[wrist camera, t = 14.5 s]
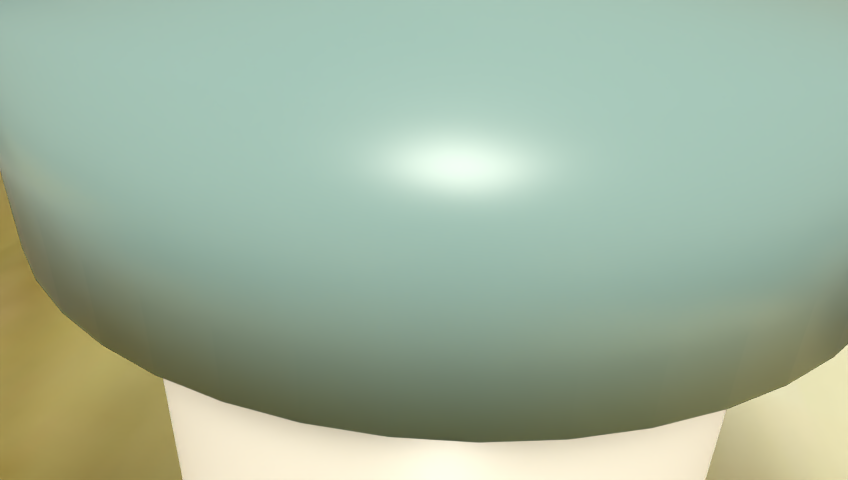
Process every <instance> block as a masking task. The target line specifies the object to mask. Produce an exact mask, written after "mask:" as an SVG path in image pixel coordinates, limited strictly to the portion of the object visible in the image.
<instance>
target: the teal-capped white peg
mask: <svg viewBox="0 0 848 480" xmlns="http://www.w3.org/2000/svg"><path fill="white" fill-rule="evenodd" d="M0 172H1V175H2V179H3V182H4V186H5V189H6V193H7V196H8V200H9V203H10V207H11V210H12V214H13V217H14V221H15V224H16V228H17V232H18V235H19V239H20V242H21V246H22V249H23V251H24V254H25V256H26V258H27V260H28V263H29V265H30V267H31V270H32V272H33V274H34V276H35V279H36V281H37V282H38V283H39V284H40V286H41V287H42V288H43V289H44V291H45V292H46V293H47V294H48V296H49V297H50V298H51V299H52V301H53V302H54V303H55V304H56V306H57V307H58V308H59V309H60V311H61V312H62V313H63V314H64V315H66V316H67V317H68V318H69V319H71V320H72V321H73V322H74V323H75V324H77V325H78V326H79V327H80V328H82V329H83V330H84V331H85V332H87V333H88V334H89V335H90V336H91V337H93V338H94V339H95V340H96V341H98V342H99V343H100V344H101V345H103V346H105V347H106V348H108V349H110V350H112V351H113V352H115V353H117V354H119V355H121V356H122V357H124V358H126V359H128V360H129V361H131V362H133V363H135V364H136V365H138V366H140V367H142V368H143V369H145V370H147V371H149V372H150V373H152V374H154V375H156V376H159V377H161V378H163V381H164V386H165V391H166V396H167V401H168V406H169V412H170V417H171V422H172V427H173V432H174V437H175V443H176V448H177V453H178V458H179V463H180V468H181V474H182V479H183V480H705V479H706V476H707V473H708V469H709V466H710V463H711V459H712V456H713V453H714V449H715V446H716V443H717V439H718V436H719V433H720V430H721V426H722V423H723V420H724V416H725V413H726V410H727V409H728V408H731V407H733V406H736V405H738V404H741V403H743V402H746V401H748V400H751V399H753V398H756V397H759V396H761V395H764V394H766V393H769V392H771V391H774V390H776V389H779V388H781V387H784V386H786V385H788V384H790V383H791V382H793V381H795V380H796V379H798V378H800V377H801V376H803V375H805V374H806V373H808V372H810V371H811V370H813V369H815V368H816V367H818V366H820V365H821V364H823V363H825V362H826V361H828V360H830V359H831V358H833V357H834V356H835V355H836V354H838V353H839V352H840V351H841V350H842V349H843V348H844V347H845V346H846V345H847V344H848V0H0Z"/></svg>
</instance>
